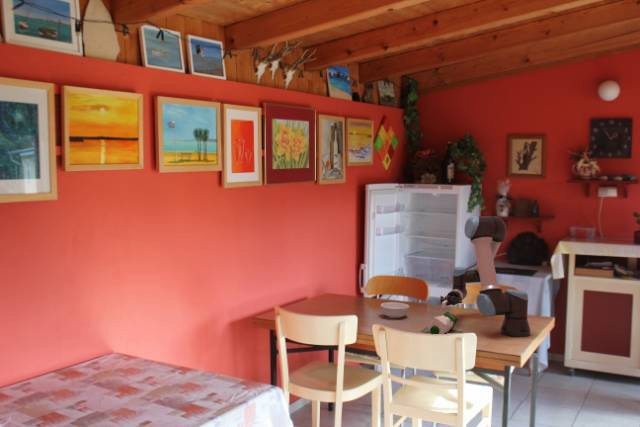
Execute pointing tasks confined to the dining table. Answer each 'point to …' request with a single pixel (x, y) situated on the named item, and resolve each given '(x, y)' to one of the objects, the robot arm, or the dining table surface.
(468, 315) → the dining table surface
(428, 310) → the dining table surface
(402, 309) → the cereal bowl
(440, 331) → the soya milk
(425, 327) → the mat
